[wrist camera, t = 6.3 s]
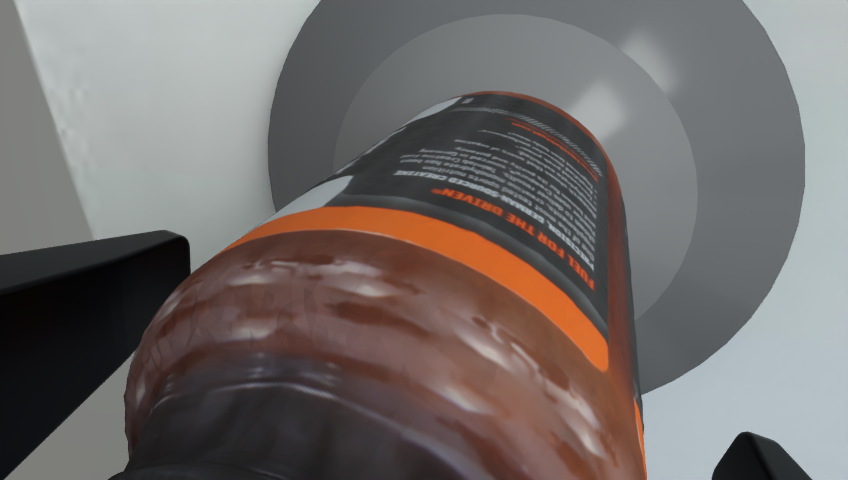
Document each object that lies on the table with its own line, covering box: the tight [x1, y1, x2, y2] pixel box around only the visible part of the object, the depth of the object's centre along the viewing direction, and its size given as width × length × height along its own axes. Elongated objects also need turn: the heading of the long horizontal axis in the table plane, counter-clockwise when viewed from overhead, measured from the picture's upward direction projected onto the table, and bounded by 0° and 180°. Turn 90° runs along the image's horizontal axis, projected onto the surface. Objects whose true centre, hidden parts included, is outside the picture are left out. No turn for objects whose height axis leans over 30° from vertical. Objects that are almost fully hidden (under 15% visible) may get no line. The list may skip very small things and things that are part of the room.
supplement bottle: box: [108, 91, 647, 480], centre depth 8 cm, size 6×6×11 cm
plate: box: [268, 0, 805, 395], centre depth 14 cm, size 13×13×1 cm
